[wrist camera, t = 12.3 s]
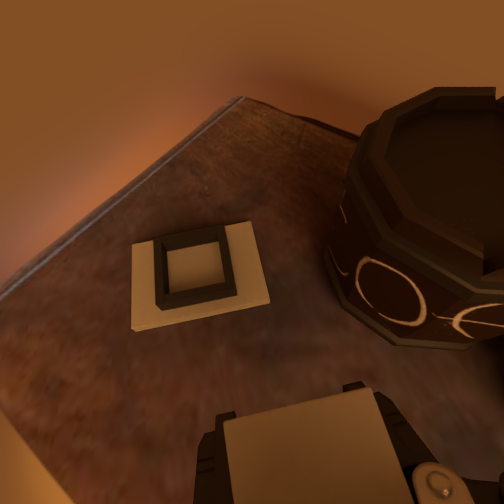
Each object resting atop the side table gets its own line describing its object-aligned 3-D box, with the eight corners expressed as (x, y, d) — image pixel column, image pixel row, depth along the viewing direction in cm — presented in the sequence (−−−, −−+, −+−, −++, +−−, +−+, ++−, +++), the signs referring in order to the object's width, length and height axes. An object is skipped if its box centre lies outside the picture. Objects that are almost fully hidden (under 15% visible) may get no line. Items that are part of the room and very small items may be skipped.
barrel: (405, 404, 26) (554, 383, 12) (288, 251, 34) (299, 136, 20) (542, 300, 29) (776, 194, 16) (407, 185, 38) (484, 51, 24)
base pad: (251, 226, 36) (249, 210, 33) (269, 303, 31) (269, 291, 28) (136, 249, 35) (124, 234, 32) (135, 331, 30) (122, 322, 27)
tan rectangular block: (327, 402, 16) (370, 385, 9) (359, 509, 13) (453, 603, 6) (245, 422, 15) (222, 421, 8) (264, 534, 13) (254, 658, 6)
